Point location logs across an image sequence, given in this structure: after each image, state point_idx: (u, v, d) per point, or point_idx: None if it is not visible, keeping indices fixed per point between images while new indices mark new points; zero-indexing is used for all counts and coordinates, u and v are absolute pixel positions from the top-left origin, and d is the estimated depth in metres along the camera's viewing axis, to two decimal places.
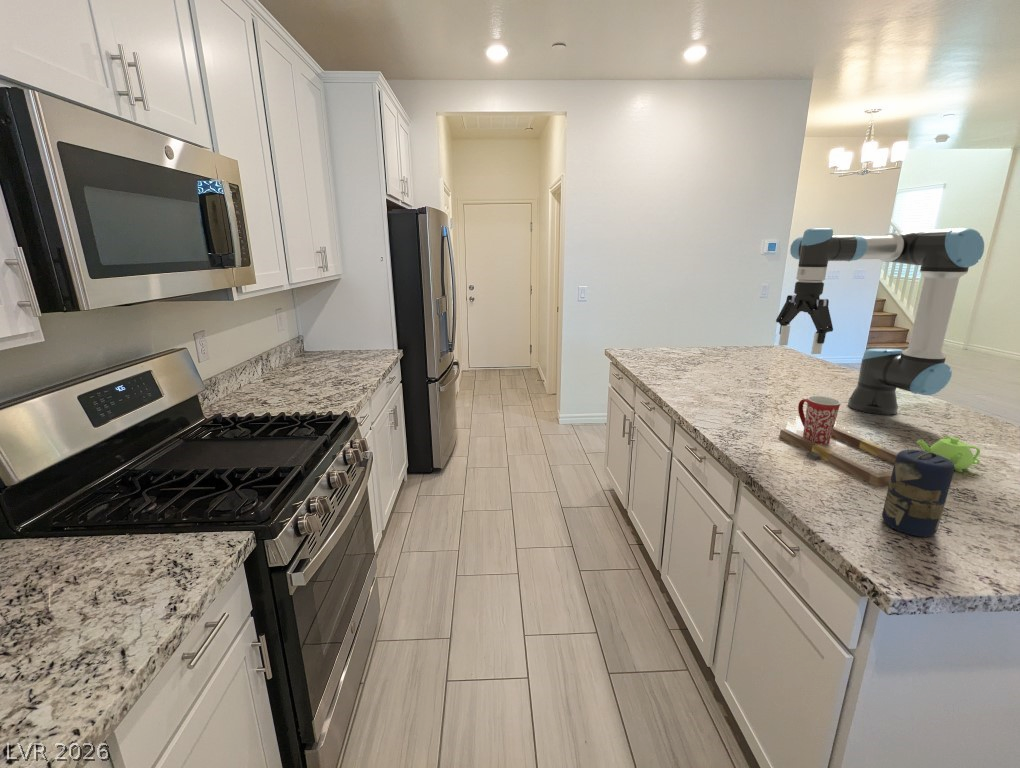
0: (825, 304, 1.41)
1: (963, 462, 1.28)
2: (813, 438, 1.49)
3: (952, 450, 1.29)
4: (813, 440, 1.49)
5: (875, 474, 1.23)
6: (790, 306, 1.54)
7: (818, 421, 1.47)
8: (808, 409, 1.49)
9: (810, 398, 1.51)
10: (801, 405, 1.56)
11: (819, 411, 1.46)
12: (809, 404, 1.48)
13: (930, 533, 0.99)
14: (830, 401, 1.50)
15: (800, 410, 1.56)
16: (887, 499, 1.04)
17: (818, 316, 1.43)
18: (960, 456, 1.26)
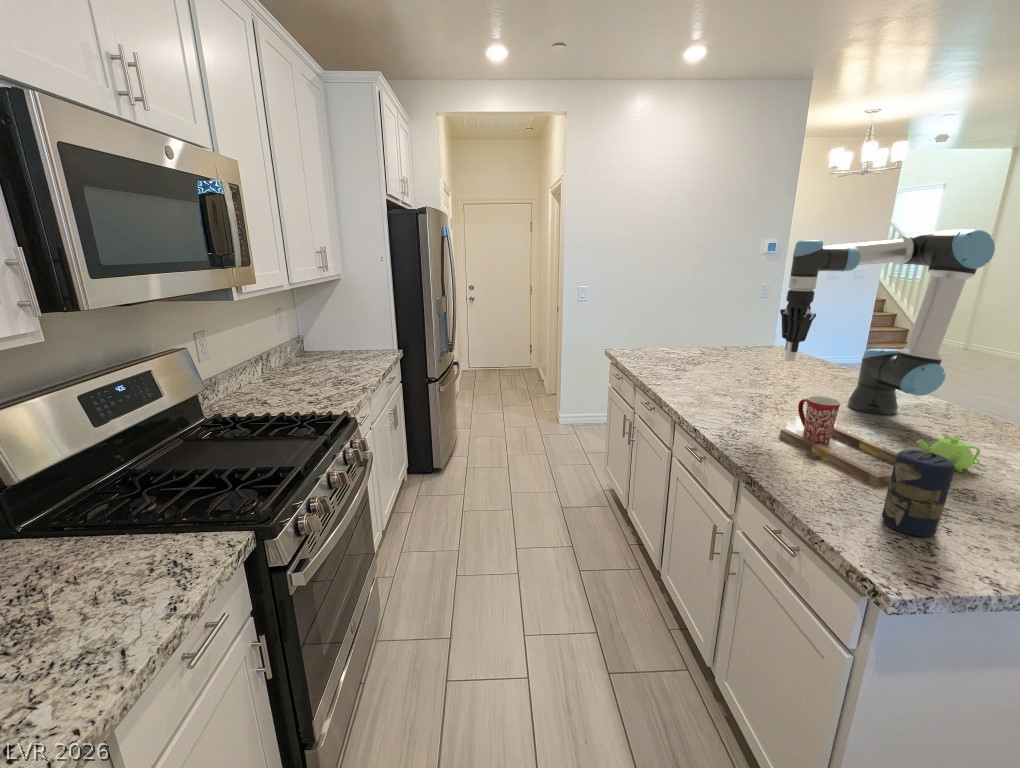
0: (811, 318, 1.51)
1: (963, 462, 1.28)
2: (813, 438, 1.49)
3: (952, 450, 1.29)
4: (813, 440, 1.49)
5: (875, 474, 1.23)
6: (787, 318, 1.60)
7: (818, 421, 1.47)
8: (808, 409, 1.49)
9: (810, 398, 1.51)
10: (801, 405, 1.56)
11: (819, 411, 1.46)
12: (809, 404, 1.48)
13: (930, 533, 0.99)
14: (830, 401, 1.50)
15: (800, 410, 1.56)
16: (887, 499, 1.04)
17: (800, 326, 1.55)
18: (960, 456, 1.26)
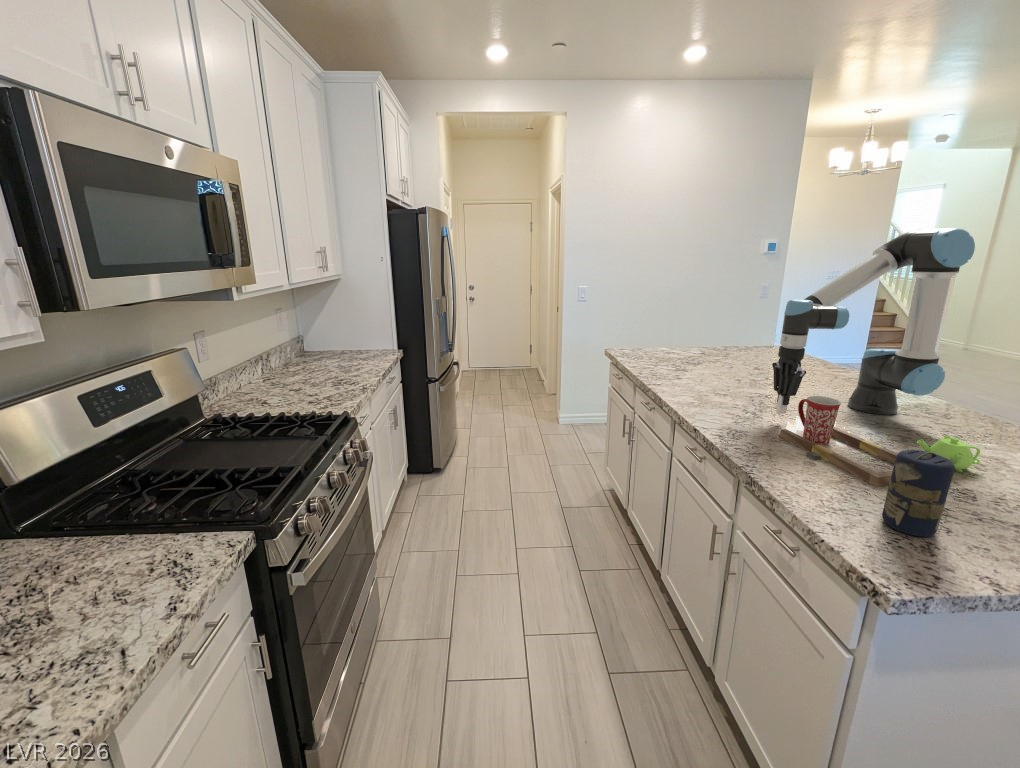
0: (801, 375, 1.56)
1: (963, 462, 1.28)
2: (813, 438, 1.49)
3: (952, 450, 1.29)
4: (813, 440, 1.49)
5: (875, 474, 1.23)
6: (779, 372, 1.65)
7: (818, 421, 1.47)
8: (808, 409, 1.49)
9: (810, 398, 1.51)
10: (801, 405, 1.56)
11: (819, 411, 1.46)
12: (809, 404, 1.48)
13: (930, 533, 0.99)
14: (830, 401, 1.50)
15: (800, 410, 1.56)
16: (887, 499, 1.04)
17: (791, 381, 1.61)
18: (960, 456, 1.26)
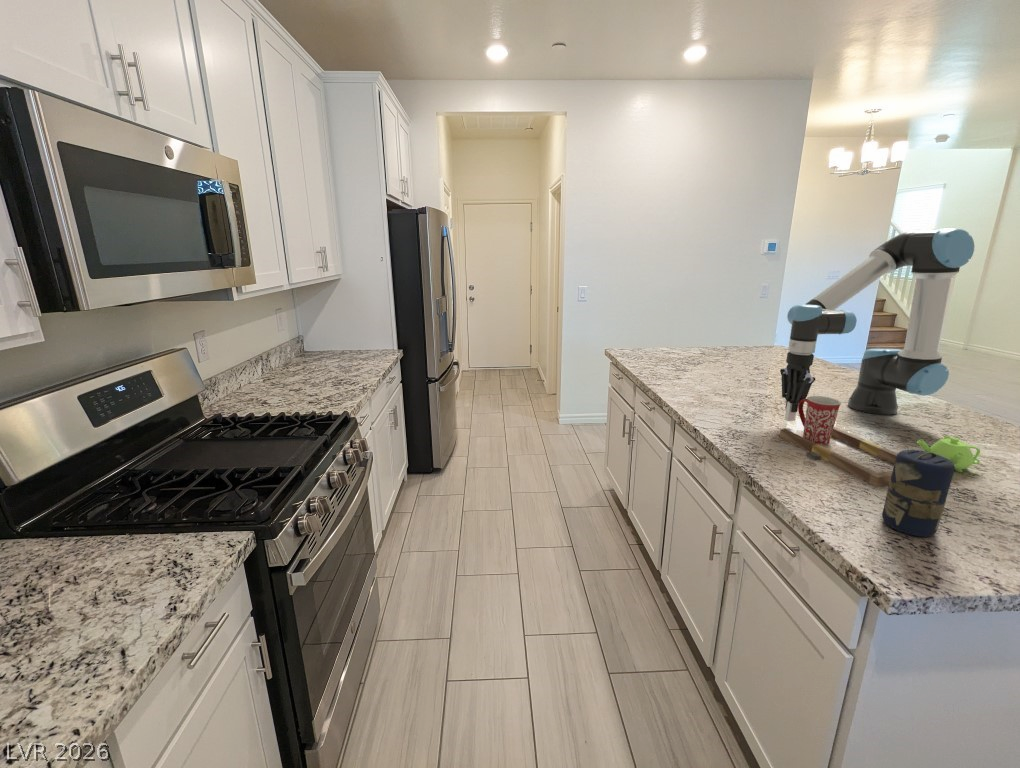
0: (810, 382, 1.53)
1: (963, 462, 1.28)
2: (813, 438, 1.49)
3: (952, 450, 1.29)
4: (813, 440, 1.49)
5: (875, 474, 1.23)
6: (787, 378, 1.62)
7: (818, 421, 1.47)
8: (808, 409, 1.49)
9: (810, 398, 1.51)
10: (801, 405, 1.56)
11: (819, 411, 1.46)
12: (809, 404, 1.48)
13: (930, 533, 0.99)
14: (830, 401, 1.50)
15: (800, 410, 1.56)
16: (887, 499, 1.04)
17: (799, 388, 1.57)
18: (960, 456, 1.26)
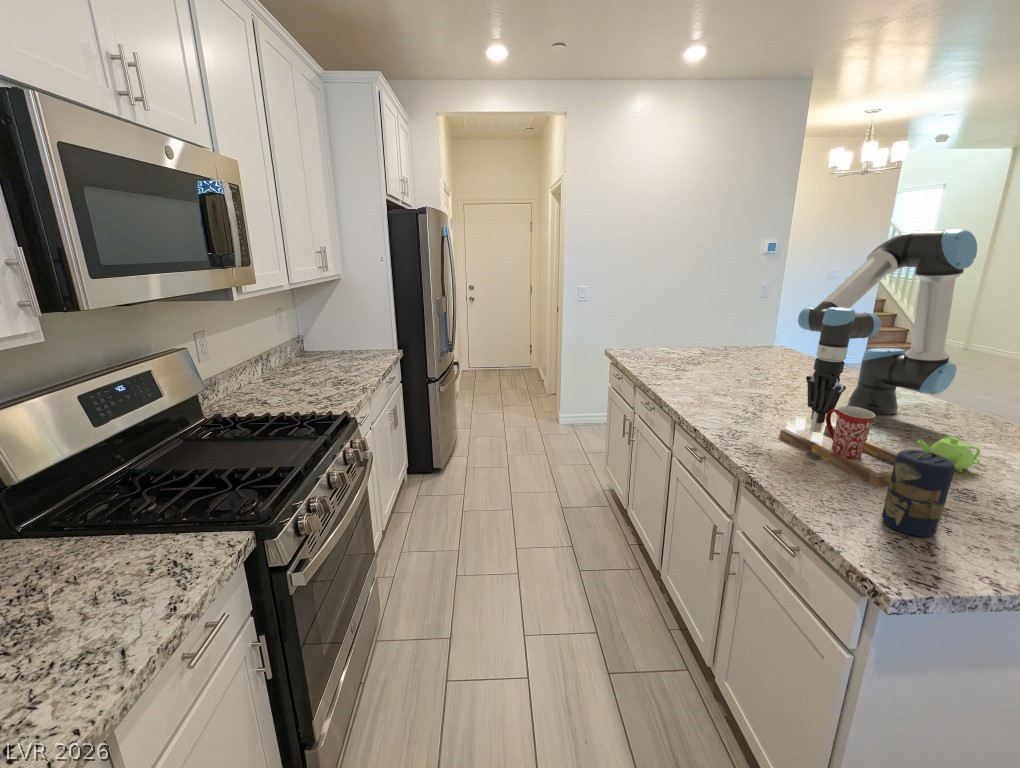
0: (840, 391, 1.41)
1: (963, 462, 1.28)
2: (844, 452, 1.38)
3: (952, 450, 1.29)
4: (844, 454, 1.38)
5: (875, 474, 1.23)
6: (814, 386, 1.51)
7: (851, 435, 1.36)
8: (839, 421, 1.38)
9: (840, 409, 1.40)
10: (829, 415, 1.45)
11: (853, 424, 1.35)
12: (841, 416, 1.37)
13: (930, 533, 0.99)
14: (861, 412, 1.39)
15: (828, 421, 1.45)
16: (887, 499, 1.04)
17: (827, 397, 1.46)
18: (960, 456, 1.26)
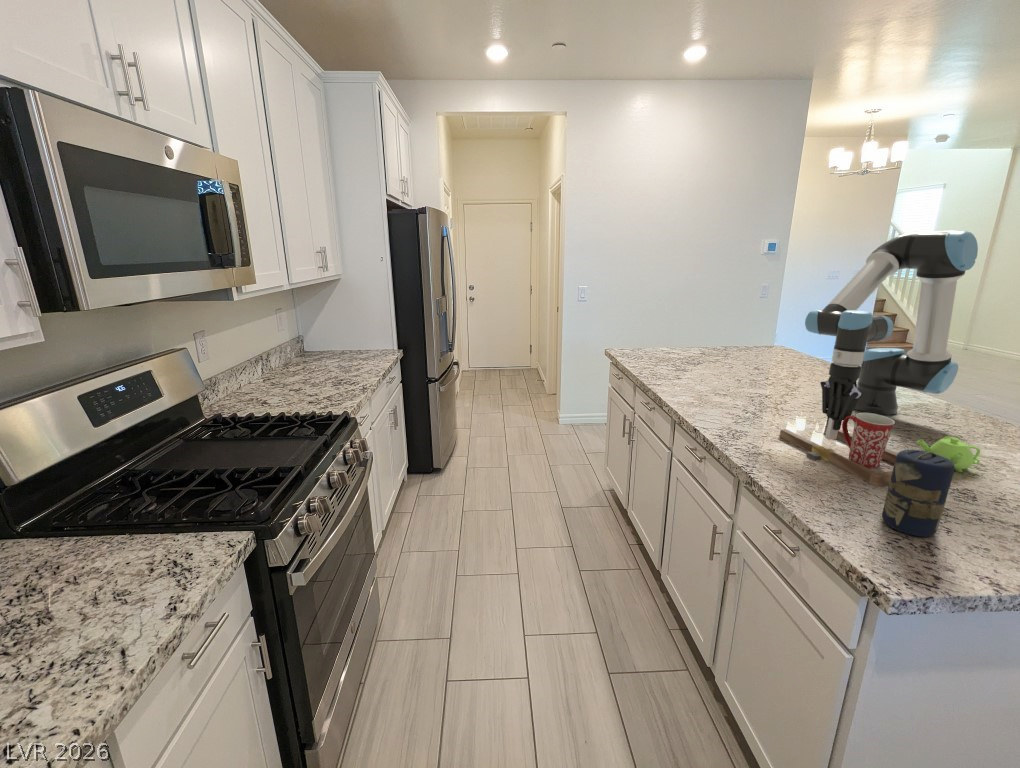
0: (857, 397, 1.36)
1: (963, 462, 1.28)
2: (862, 461, 1.33)
3: (952, 450, 1.29)
4: (862, 463, 1.33)
5: (875, 474, 1.23)
6: (829, 392, 1.46)
7: (869, 442, 1.30)
8: (857, 428, 1.33)
9: (858, 416, 1.35)
10: (846, 422, 1.40)
11: (871, 431, 1.29)
12: (858, 423, 1.32)
13: (930, 533, 0.99)
14: (880, 418, 1.34)
15: (844, 428, 1.40)
16: (887, 499, 1.04)
17: (844, 403, 1.41)
18: (960, 456, 1.26)
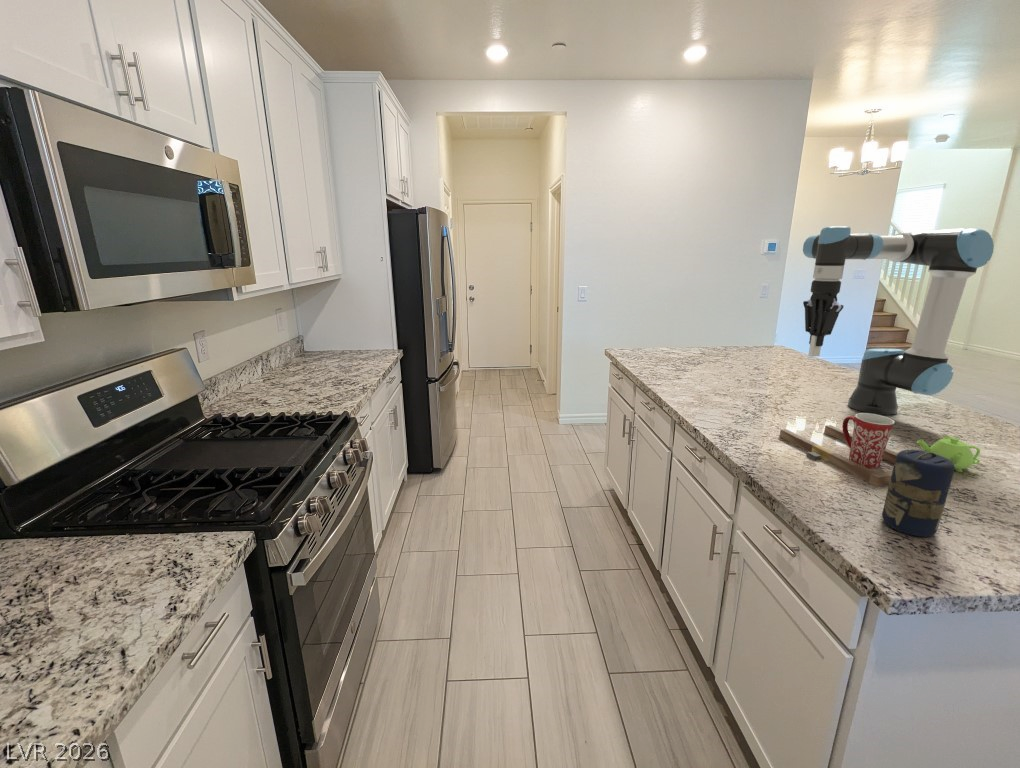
0: (838, 310, 1.41)
1: (963, 462, 1.28)
2: (862, 461, 1.33)
3: (952, 450, 1.29)
4: (862, 463, 1.33)
5: (875, 474, 1.23)
6: (811, 311, 1.51)
7: (869, 442, 1.31)
8: (856, 428, 1.33)
9: (858, 416, 1.35)
10: (846, 423, 1.40)
11: (871, 431, 1.30)
12: (858, 423, 1.32)
13: (930, 533, 0.99)
14: (880, 419, 1.34)
15: (845, 429, 1.40)
16: (887, 499, 1.04)
17: (825, 319, 1.46)
18: (960, 456, 1.26)
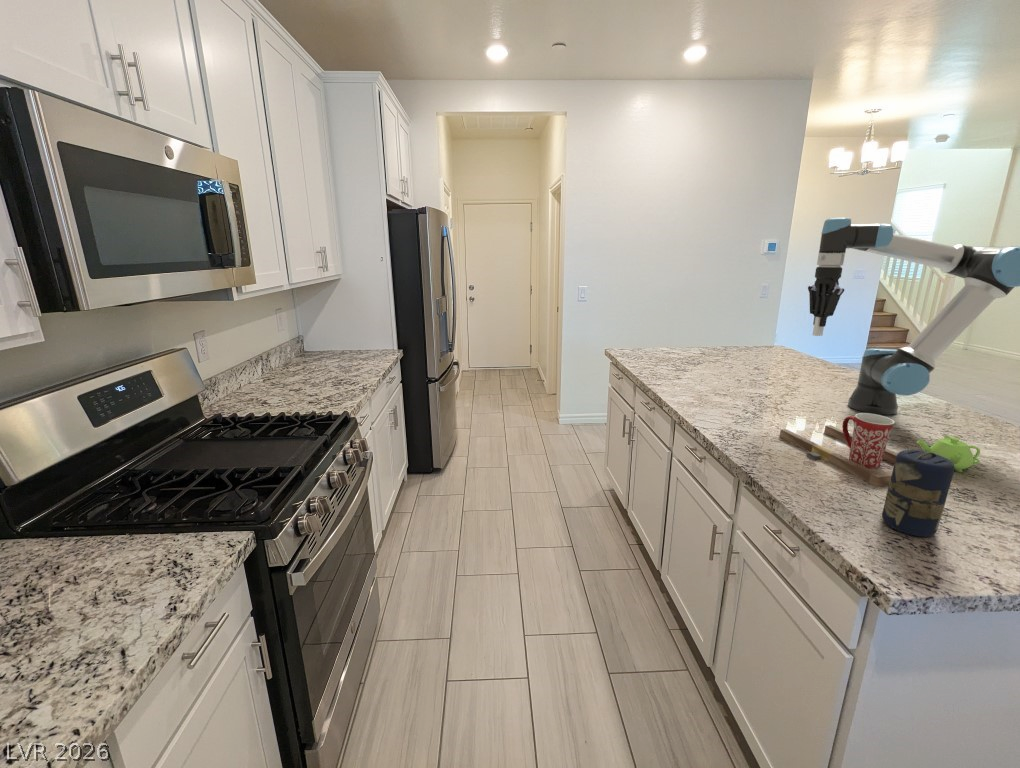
0: (839, 293, 1.57)
1: (963, 462, 1.28)
2: (862, 461, 1.33)
3: (952, 450, 1.29)
4: (862, 463, 1.33)
5: (875, 474, 1.23)
6: (815, 295, 1.67)
7: (869, 442, 1.31)
8: (856, 428, 1.33)
9: (858, 416, 1.35)
10: (846, 423, 1.40)
11: (871, 431, 1.30)
12: (858, 423, 1.32)
13: (930, 533, 0.99)
14: (880, 419, 1.34)
15: (845, 429, 1.40)
16: (887, 499, 1.04)
17: (828, 301, 1.62)
18: (960, 456, 1.26)
